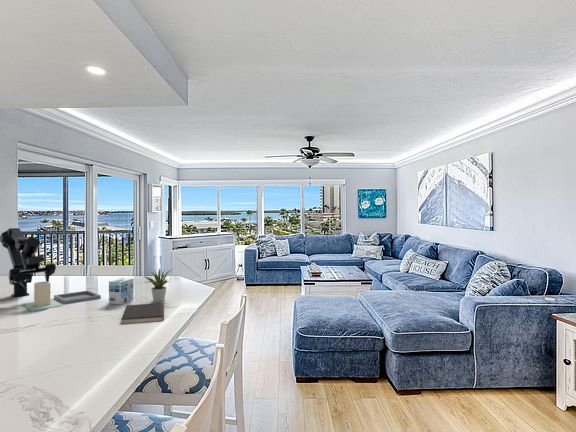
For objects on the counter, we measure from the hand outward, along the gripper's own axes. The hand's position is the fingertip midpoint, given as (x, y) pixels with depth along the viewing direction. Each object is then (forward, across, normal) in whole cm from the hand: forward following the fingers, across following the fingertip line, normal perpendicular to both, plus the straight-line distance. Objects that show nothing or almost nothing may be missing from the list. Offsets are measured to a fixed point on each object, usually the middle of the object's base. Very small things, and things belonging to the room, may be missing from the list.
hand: (36, 286), depth 183 cm
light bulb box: (+24, +29, -11) cm, 39 cm away
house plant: (+31, +45, -17) cm, 57 cm away
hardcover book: (+44, +27, -32) cm, 61 cm away
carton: (+11, 0, -1) cm, 11 cm away
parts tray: (+10, +16, +3) cm, 19 cm away
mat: (+12, 0, 0) cm, 12 cm away
